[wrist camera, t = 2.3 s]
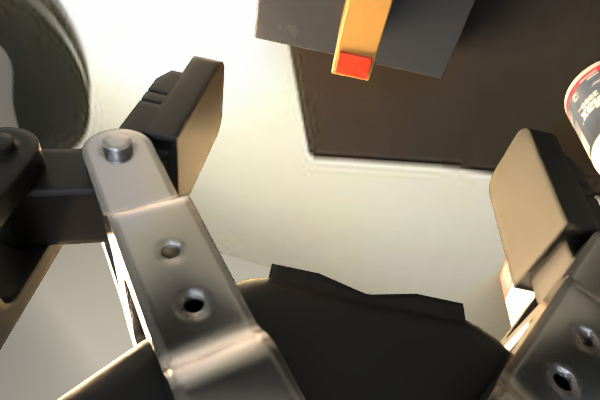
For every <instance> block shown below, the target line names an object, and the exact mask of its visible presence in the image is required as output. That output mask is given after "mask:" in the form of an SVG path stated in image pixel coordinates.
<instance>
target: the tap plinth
mask: <svg viewBox="0 0 600 400" xmlns="http://www.w3.org/2000/svg"><path fill="white" fill-rule="evenodd" d="M345 1H346V0H258V8H257V19H256V29H255V37H256V38H260V39H264V40H269V41H273V42H278V43H283V44H287V45H292V46H296V47H301V48H305V49H310V50H315V51H319V52H324V53H328V54H333V55H335V49H336V44H337V38H338V33H339V28H340V23H341V19H342V14H343V10H344V6H345ZM474 1H475V0H393V1H392V5H391V8H390V11H389V15H388V18H387V21H386V25H385V28H384V31H383V35H382V38H381V41H380V45H379V48H378V51H377V55H376V58H375V61H374V64H378V65H383V66H388V67H392V68H397V69H401V70H406V71H410V72H415V73H420V74H424V75H429V76H433V77H438V78H442V77H443V75H444V72H445V70H446V68H447V65H448V63H449V60H450V58H451V56H452V53H453V51H454V49H455V46H456V44H457V42H458V39H459V37H460V34H461V32H462V30H463V27H464V25H465V23H466V20H467V18H468V16H469V13H470V11H471V8H472V6H473V4H474Z"/></svg>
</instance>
